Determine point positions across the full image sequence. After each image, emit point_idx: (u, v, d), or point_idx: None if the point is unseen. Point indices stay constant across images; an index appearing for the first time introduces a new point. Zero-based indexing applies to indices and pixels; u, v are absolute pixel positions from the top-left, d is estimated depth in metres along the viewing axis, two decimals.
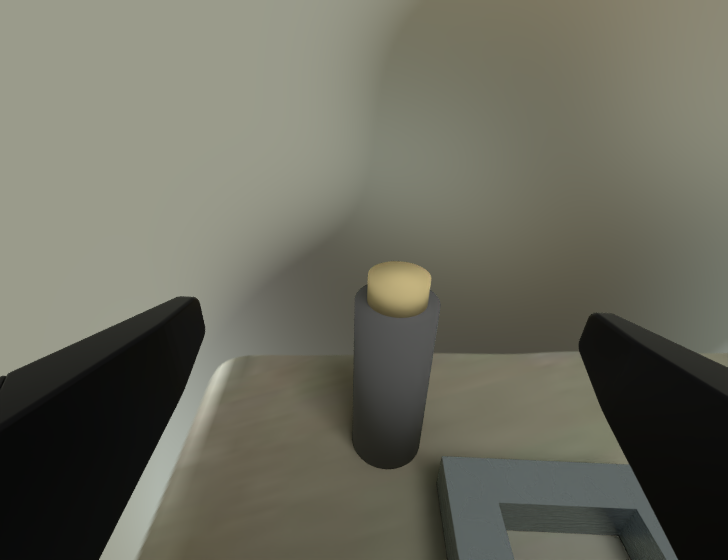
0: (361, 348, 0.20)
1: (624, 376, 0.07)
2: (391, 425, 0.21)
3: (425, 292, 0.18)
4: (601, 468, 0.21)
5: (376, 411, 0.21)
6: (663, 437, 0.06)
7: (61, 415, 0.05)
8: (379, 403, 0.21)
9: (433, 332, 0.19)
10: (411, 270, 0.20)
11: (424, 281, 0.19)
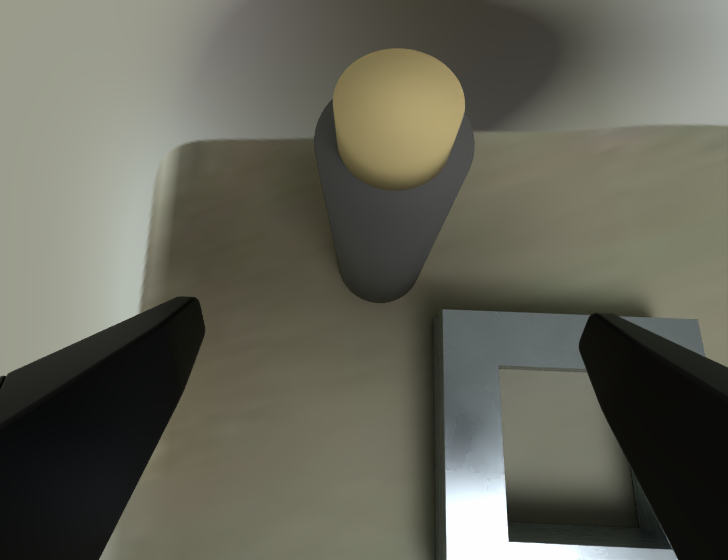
0: (333, 216, 0.12)
1: (624, 376, 0.07)
2: (383, 283, 0.17)
3: (447, 146, 0.09)
4: None
5: (362, 273, 0.16)
6: (663, 437, 0.06)
7: (61, 415, 0.05)
8: (364, 268, 0.15)
9: (453, 200, 0.11)
10: (425, 79, 0.09)
11: (448, 120, 0.09)
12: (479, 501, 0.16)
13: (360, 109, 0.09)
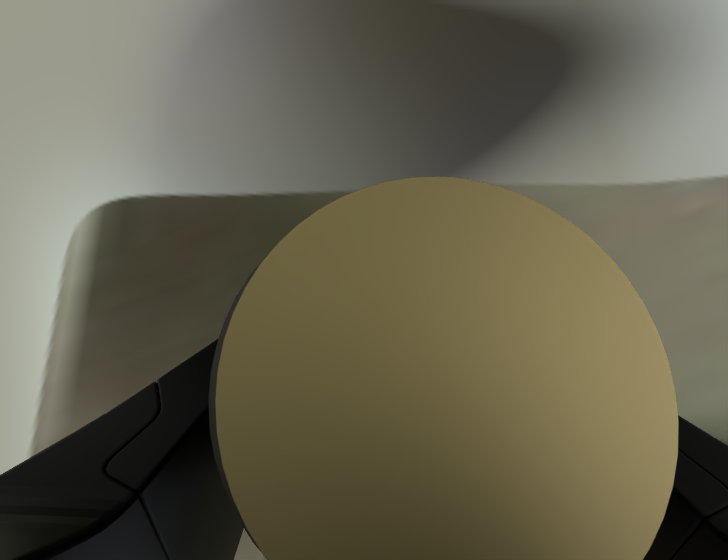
0: None
1: None
2: None
3: None
4: None
5: None
6: None
7: None
8: None
9: None
10: (529, 293, 0.03)
11: (628, 471, 0.02)
12: None
13: (310, 418, 0.03)
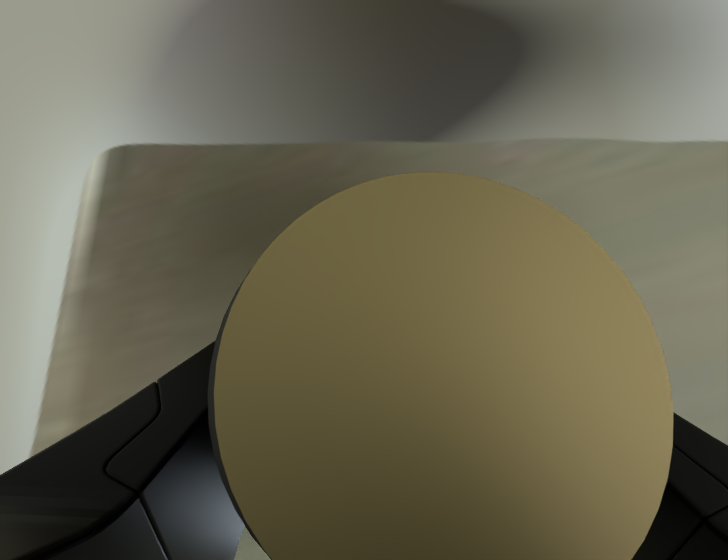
0: None
1: None
2: None
3: None
4: None
5: None
6: None
7: None
8: None
9: None
10: (526, 287, 0.03)
11: (623, 464, 0.02)
12: None
13: (308, 410, 0.03)
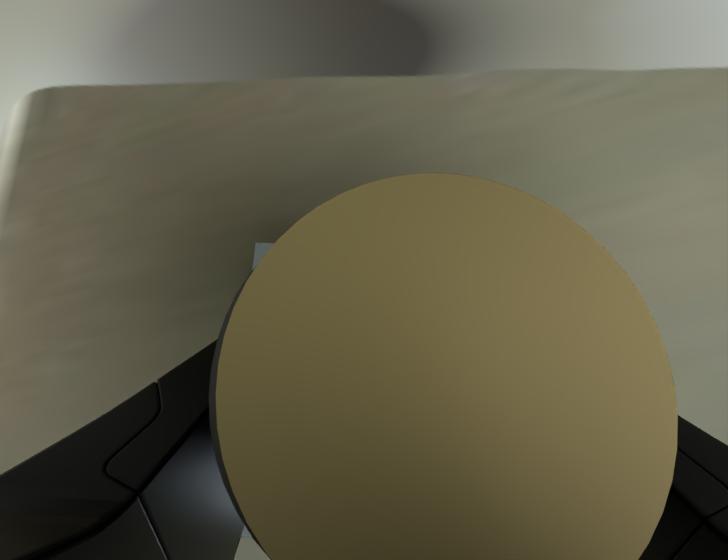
0: None
1: None
2: None
3: None
4: None
5: None
6: None
7: None
8: None
9: None
10: (529, 289, 0.03)
11: (627, 466, 0.02)
12: None
13: (311, 413, 0.03)
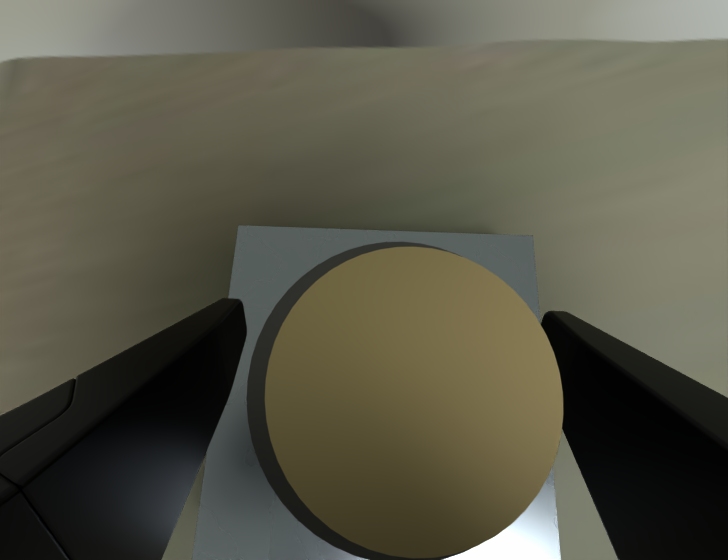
0: None
1: (571, 374, 0.07)
2: None
3: None
4: (454, 240, 0.15)
5: None
6: (604, 434, 0.06)
7: (133, 418, 0.05)
8: None
9: None
10: (471, 329, 0.04)
11: (529, 446, 0.04)
12: (247, 438, 0.13)
13: (326, 411, 0.04)
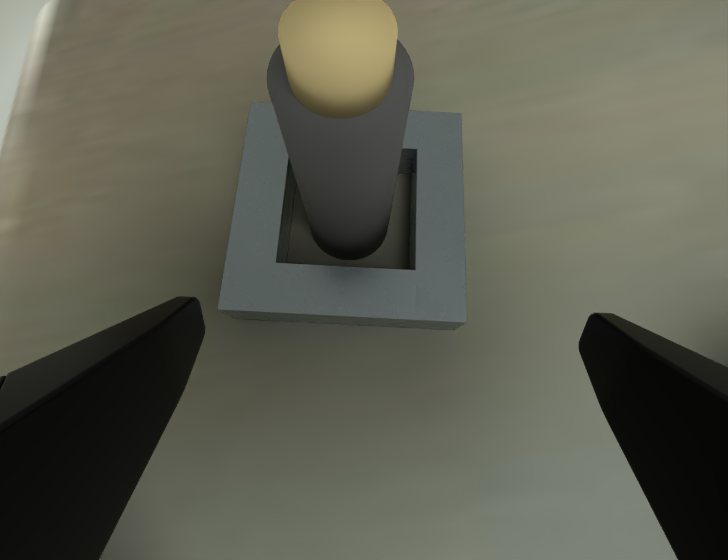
0: (290, 153, 0.13)
1: (624, 376, 0.07)
2: (346, 232, 0.18)
3: (382, 72, 0.10)
4: None
5: (325, 220, 0.17)
6: (663, 437, 0.06)
7: (61, 415, 0.05)
8: (326, 214, 0.16)
9: (397, 134, 0.12)
10: (363, 12, 0.10)
11: (381, 48, 0.10)
12: (256, 235, 0.19)
13: (302, 36, 0.10)
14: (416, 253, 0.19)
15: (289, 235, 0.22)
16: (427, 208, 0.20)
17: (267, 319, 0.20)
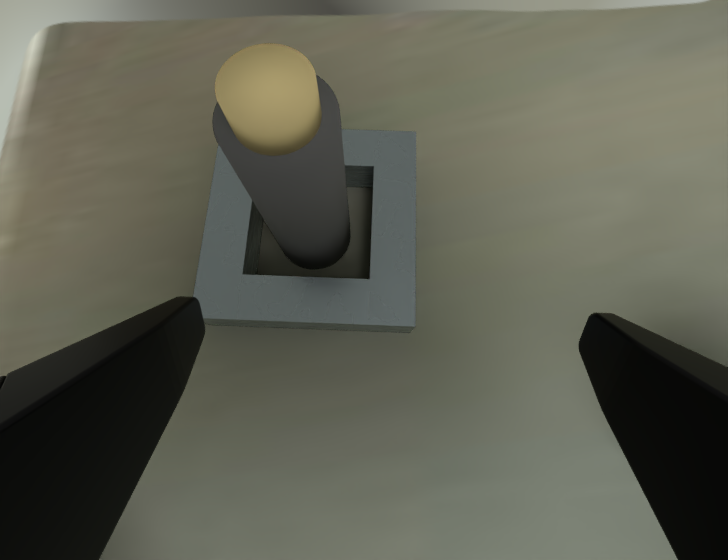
0: (241, 181, 0.15)
1: (624, 376, 0.07)
2: (304, 246, 0.19)
3: (304, 118, 0.12)
4: (364, 134, 0.23)
5: (282, 236, 0.19)
6: (663, 437, 0.06)
7: (61, 415, 0.05)
8: (281, 231, 0.18)
9: (329, 166, 0.14)
10: (288, 67, 0.12)
11: (302, 99, 0.12)
12: (225, 249, 0.21)
13: (235, 90, 0.12)
14: (371, 263, 0.21)
15: (259, 247, 0.24)
16: (382, 221, 0.21)
17: (238, 325, 0.22)
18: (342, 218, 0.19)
